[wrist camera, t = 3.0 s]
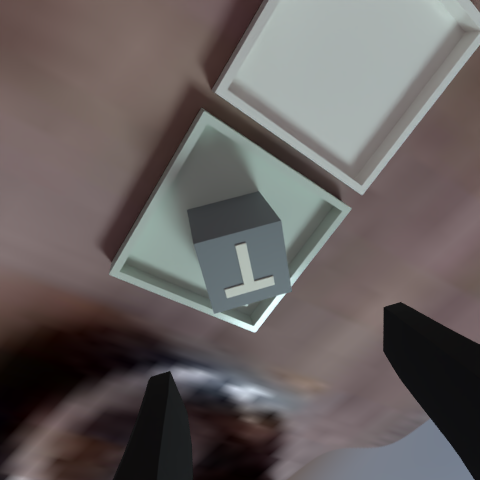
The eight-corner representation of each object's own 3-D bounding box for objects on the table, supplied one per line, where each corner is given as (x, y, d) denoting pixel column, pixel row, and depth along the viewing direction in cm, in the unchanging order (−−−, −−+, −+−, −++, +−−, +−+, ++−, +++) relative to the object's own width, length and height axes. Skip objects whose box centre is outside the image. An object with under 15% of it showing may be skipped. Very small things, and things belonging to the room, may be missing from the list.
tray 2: (342, 201, 21) (351, 208, 20) (250, 320, 24) (255, 332, 22) (201, 107, 17) (204, 110, 16) (111, 263, 20) (108, 274, 19)
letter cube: (259, 191, 19) (281, 221, 16) (269, 253, 21) (292, 292, 18) (186, 209, 19) (193, 244, 15) (204, 271, 21) (214, 314, 17)
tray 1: (472, 30, 18) (492, 28, 17) (351, 188, 21) (362, 195, 20) (339, -131, 14) (353, -146, 13) (211, 90, 17) (214, 92, 16)
